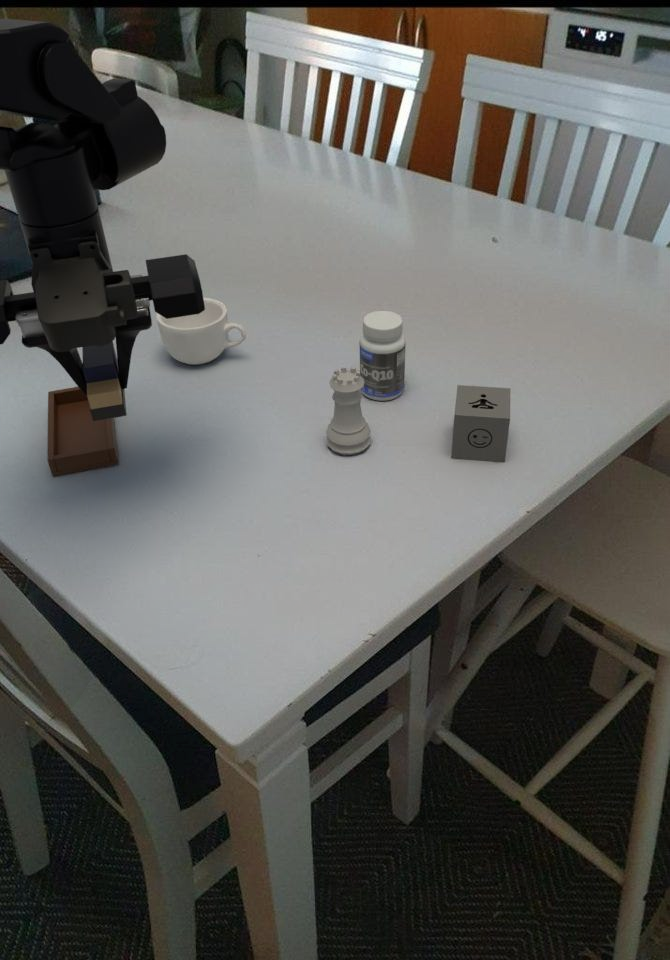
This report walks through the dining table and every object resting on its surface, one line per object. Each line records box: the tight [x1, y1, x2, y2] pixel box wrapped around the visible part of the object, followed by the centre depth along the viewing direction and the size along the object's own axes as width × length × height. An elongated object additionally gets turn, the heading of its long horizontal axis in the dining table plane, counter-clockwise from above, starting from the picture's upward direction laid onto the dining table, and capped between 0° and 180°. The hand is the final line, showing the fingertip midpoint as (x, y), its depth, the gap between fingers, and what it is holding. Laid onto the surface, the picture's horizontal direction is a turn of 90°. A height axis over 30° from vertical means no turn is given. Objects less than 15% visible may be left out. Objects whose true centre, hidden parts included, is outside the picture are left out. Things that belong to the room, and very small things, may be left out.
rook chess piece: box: [325, 366, 372, 456], centre depth 77 cm, size 4×4×8 cm
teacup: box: [155, 296, 247, 366], centre depth 91 cm, size 10×8×5 cm
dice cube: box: [450, 384, 512, 463], centre depth 77 cm, size 5×5×5 cm
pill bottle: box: [358, 310, 407, 402], centre depth 84 cm, size 5×5×8 cm
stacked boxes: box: [81, 340, 128, 421], centre depth 69 cm, size 6×3×4 cm, turn 14°
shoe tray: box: [46, 386, 120, 477], centre depth 81 cm, size 6×12×2 cm, turn 15°
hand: (105, 389), depth 70 cm, fingers closed on stacked boxes, 3 cm apart
